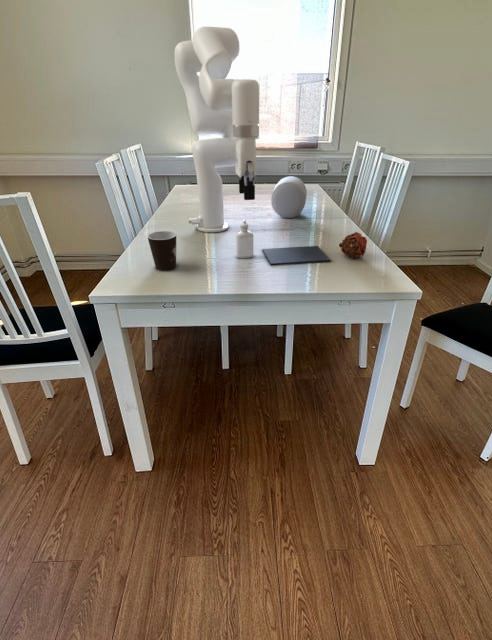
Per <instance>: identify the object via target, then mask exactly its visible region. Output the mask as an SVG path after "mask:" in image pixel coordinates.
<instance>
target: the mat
mask: <svg viewBox="0 0 492 640" xmlns="http://www.w3.org/2000/svg"><path fill="white" fill-rule="evenodd" d="M262 252H263V254H264V256H265V258H266V260H267V261H268V263H269V265H270V266H281V265H282V266H283V265H284V266H285V265H296V264H297V265H298V264H314V263H328V262H329V263H331V259H330V258H329V256H327V255H326V253H325V252H324V251H323V250H322V249H321V247H319V246H318V245H312V246H311V245H309V246H308V245H307V246H291V247H289V246H288V247H272V248H262Z"/></svg>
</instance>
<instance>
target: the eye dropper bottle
mask: <svg viewBox="0 0 492 640" xmlns="http://www.w3.org/2000/svg"><path fill="white" fill-rule="evenodd" d="M235 255H236V258H237V259H250V258H253V257H254V233H253V232H252V231H249V224H248V223H247V221H246V219H243V220H242V223H241V224H240V231H239V232H237V233H236V235H235Z"/></svg>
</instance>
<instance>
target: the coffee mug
mask: <svg viewBox="0 0 492 640" xmlns="http://www.w3.org/2000/svg"><path fill="white" fill-rule="evenodd" d="M146 237H147V241H148V245H149V248H150V251H151V256H152V260H153V263H154V267H155V269H156V270H157V271H159V272H168V271H172V270H175V269H176V268H177V233H176V232H174V231H170V230H159V231H154V232H151V233H148V234H147V236H146Z"/></svg>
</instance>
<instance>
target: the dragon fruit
mask: <svg viewBox="0 0 492 640" xmlns="http://www.w3.org/2000/svg"><path fill="white" fill-rule="evenodd" d="M367 243H368V240H367V238H366V237H365V236H362V233H360V232H358V231H354V233H350V234H348V235H346V236H344V238H343V239H342V242H339V244H338V247H339V248H340V250H341V252H342V254H343V255H345V256H346V257H348V258H350V259H353V260H354V259H356V258H358V257H363V256H365V254H366V252H367V251H366V250H367Z"/></svg>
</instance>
